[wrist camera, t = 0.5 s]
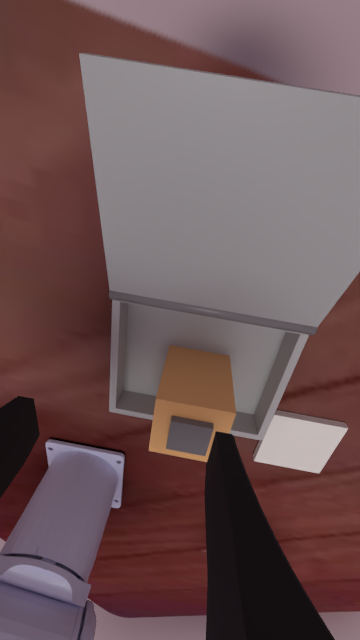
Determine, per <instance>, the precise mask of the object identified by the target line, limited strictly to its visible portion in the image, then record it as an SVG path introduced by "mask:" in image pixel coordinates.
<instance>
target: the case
mask: <svg viewBox="0 0 360 640" xmlns="http://www.w3.org/2000/svg"><path fill="white" fill-rule="evenodd" d="M79 56H80V64H81V72H82V80H83V87H84V95H85V103H86V111H87V118H88V126H89V134H90V142H91V149H92V157H93V165H94V173H95V181H96V188H97V196H98V204H99V212H100V219H101V227H102V235H103V243H104V250H105V258H106V266H107V274H108V281H109V289H110V291H109V299H111V300H112V325H111V361H110V396H109V412H113V413H119V414H124V415H129V416H134V417H140V418H145V419H150V420H153V415H154V408H155V401H156V396H157V392H158V388H159V384H160V380H161V376H162V372H163V369H164V365H165V361H166V357H167V353H168V349H169V345H172V346H178V347H183V348H189V349H194V350H200V351H205V352H211V353H216V354H222V355H227V356H230V362H231V371H232V380H233V389H234V398H235V407H236V416H235V419H234V422H233V425H232V427H231V430H230V433H229V434H232V435H235V436H240V437H245V438H251V439H256V440H261V441H263V438H264V436H265V434H266V432H267V429H268V427H269V425H270V423H271V420H272V418H273V416H274V413H275V411H276V409H277V407H278V404H279V402H280V400H281V398H282V395H283V393H284V391H285V389H286V386H287V384H288V382H289V379H290V377H291V375H292V373H293V370H294V368H295V366H296V364H297V361H298V359H299V357H300V354H301V352H302V350H303V348H304V345H305V343H306V341H307V339H308V336H309V335H315V333H316V331H317V327H318V326H319V325H320V323H321V322H322V321H323V319H324V318H325V317H326V315H327V314H328V313H329V311H330V310H331V309H332V307H333V306H334V305H335V303H336V302H337V301H338V299H339V298H340V297H341V295H342V294H343V293H344V291H345V290H346V289H347V287H348V286H349V285H350V283H351V282H352V281H353V280H354V278H355V277H356V276H357V274H358V273H359V272H360V96H359V95H352V94H346V93H340V92H333V91H326V90H320V89H314V88H307V87H301V86H295V85H288V84H282V83H275V82H269V81H262V80H256V79H250V78H243V77H237V76H230V75H224V74H218V73H211V72H205V71H198V70H192V69H185V68H179V67H173V66H166V65H160V64H153V63H147V62H140V61H134V60H128V59H121V58H115V57H108V56H102V55H95V54H89V53H79Z"/></svg>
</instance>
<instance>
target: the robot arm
mask: <svg viewBox="0 0 360 640" xmlns="http://www.w3.org/2000/svg"><path fill="white" fill-rule="evenodd" d="M39 435H40V434H39V428H38V422H37V416H36V410H35V404H34V399H32V398H26V397H20V396H18V397H17V398H15V399H13V400H12V401H10V402H9V403H7V404H6V405H4V406H3V407H1V408H0V498H1V496H2V495H3V493H4V492H5V490H6V489H7V488H8V486H9V485H10V483H11V482H12V480H13V479H14V477H15V476H16V474H17V473H18V471H19V470H20V468H21V467H22V465H23V464H24V462H25V461H26V459H27V457H28V456H29V454H30V452H31V450H32V448H33V446H34V444H35V442H36V441H37V439H38V437H39ZM45 445H46V452H47V459H48V466H49V468H48V470H47V472H46V473H45V475H44V477H43V479H42V480H41V482H40V484H39V486H38V487H37V489H36V491H35V493H34V494H33V496H32V498H31V500H30V501H29V503H28V505H27V507H26V508H25V510H24V512H23V514H22V515H21V517H20V519H19V521H18V522H17V524H16V526H15V527H14V529H13V531H12V533H11V534H10V536H9V538H8V540H7V541H6V543H5V545H4V547H3V548H2V550H1V552H0V640H94V634H95V628H96V615H95V611H94V605H93V602H92V601H89V600H87V598H88V594H89V591H90V588H91V585H90V584H88V583H87V581H88V578H89V575H90V572H91V570H92V567H93V564H94V561H95V558H96V555H97V551H98V548H99V545H100V542H101V538H102V535H103V532H104V529H105V526H106V522H107V519H108V516H109V513H110V509H111V507H113V508H120V506H121V501H122V488H123V474H124V461H125V456H124V454H123V453H120V452H115V451H109V450H104V449H99V448H94V447H89V446H84V445H78V444H73V443H68V442H63V441H58V440H52V439H49V440H47V442H46V444H45ZM205 516H206V542H207V567H208V591H207V623H206V640H335V639H334V638H333V636H332V635H331V633H330V631H329V630H328V628H327V627H326V625H325V623H324V622H323V620H322V618H321V617H320V615H319V613H318V612H317V610H316V609H315V607H314V605H313V604H312V602H311V600H310V599H309V597H308V596H307V594H306V592H305V590H304V589H303V587H302V585H301V583H300V582H299V580H298V578H297V576H296V575H295V573H294V571H293V569H292V568H291V566H290V564H289V562H288V560H287V558H286V557H285V555H284V553H283V551H282V549H281V547H280V545H279V543H278V541H277V539H276V537H275V535H274V533H273V531H272V529H271V527H270V525H269V523H268V521H267V519H266V517H265V515H264V513H263V511H262V508H261V506H260V504H259V502H258V499H257V497H256V495H255V492H254V490H253V488H252V485H251V483H250V481H249V478H248V476H247V473H246V471H245V468H244V465H243V463H242V460H241V457H240V454H239V452H238V449H237V446H236V442H235V439H234V436H233V435H232V434H229V433H223V432H217V431H216V433H215V436H214V440H213V443H212V447H211V450H210V454H209V457H208V461H207V464H206V479H205Z"/></svg>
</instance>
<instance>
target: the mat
mask: <svg viewBox="0 0 360 640" xmlns="http://www.w3.org/2000/svg"><path fill="white" fill-rule="evenodd" d="M347 430H348V427H347V425H346V424H345V423H344V422H339V421H334V420H328V419H323V418H317V417H312V416H307V415H301V414H296V413H291V412H285V411H280V410H276V411H275V413H274V416H273V418H272V420H271V423H270V425H269V427H268V429H267V432H266V434H265V436H264V438H263V441H261V440H259V442H258V444H257V447H256V449H255V451H254V454H253V459H254V461H256V462H262V463H267V464H272V465H277V466H283V467H288V468H293V469H298V470H303V471H309V472H314V473H320V471H321V470H322V468H323V467H324V465H325V464H326V462H327V461H328V459H329V458H330V456H331V455H332V453H333V451H334V450H335V448H336V447H337V445H338V444H339V442H340V441H341V439H342V438H343V436H344V434H345V433H346V431H347Z"/></svg>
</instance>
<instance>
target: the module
mask: <svg viewBox="0 0 360 640" xmlns="http://www.w3.org/2000/svg"><path fill="white" fill-rule="evenodd" d="M235 416H236V407H235V398H234V389H233V380H232V371H231V362H230V356H227V355H222V354H216V353H211V352H205V351H200V350H194V349H189V348H183V347H178V346H172V345H169V349H168V353H167V357H166V361H165V365H164V369H163V372H162V376H161V380H160V384H159V388H158V392H157V396H156V401H155V408H154V415H153V422H152V429H151V436H150V444H149V451H152V452H157V453H163V454H168V455H173V456H178V457H183V458H189V459H194V460H199V461H204V462H207V461H208V457H209V454H210V450H211V447H212V443H213V440H214V436H215V433H216V431H217V432H223V433H230V430H231V427H232V425H233V422H234V419H235Z"/></svg>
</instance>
